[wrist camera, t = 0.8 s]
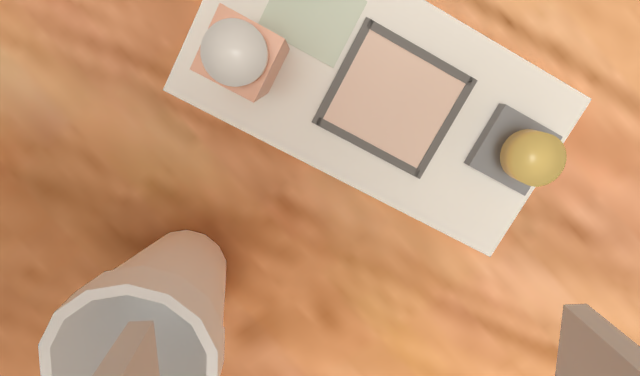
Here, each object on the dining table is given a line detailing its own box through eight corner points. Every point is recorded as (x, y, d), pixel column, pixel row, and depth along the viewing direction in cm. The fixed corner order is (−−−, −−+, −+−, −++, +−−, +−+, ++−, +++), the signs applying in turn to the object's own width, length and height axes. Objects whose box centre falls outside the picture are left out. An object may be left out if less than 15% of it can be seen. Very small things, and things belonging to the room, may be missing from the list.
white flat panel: (165, 89, 34) (157, 90, 32) (250, -100, 31) (246, -111, 30) (486, 253, 38) (496, 262, 36) (585, 98, 36) (601, 100, 34)
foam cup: (126, 206, 36) (32, 279, 24) (247, 213, 37) (219, 288, 24) (129, 318, 38) (45, 439, 26) (243, 323, 39) (215, 444, 26)
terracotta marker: (225, 70, 33) (183, 69, 21) (246, 25, 33) (215, -2, 21) (268, 92, 34) (251, 104, 22) (289, 49, 33) (284, 36, 21)
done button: (490, 165, 33) (501, 171, 31) (518, 119, 32) (532, 122, 30) (532, 188, 33) (546, 195, 32) (560, 144, 33) (577, 148, 31)
